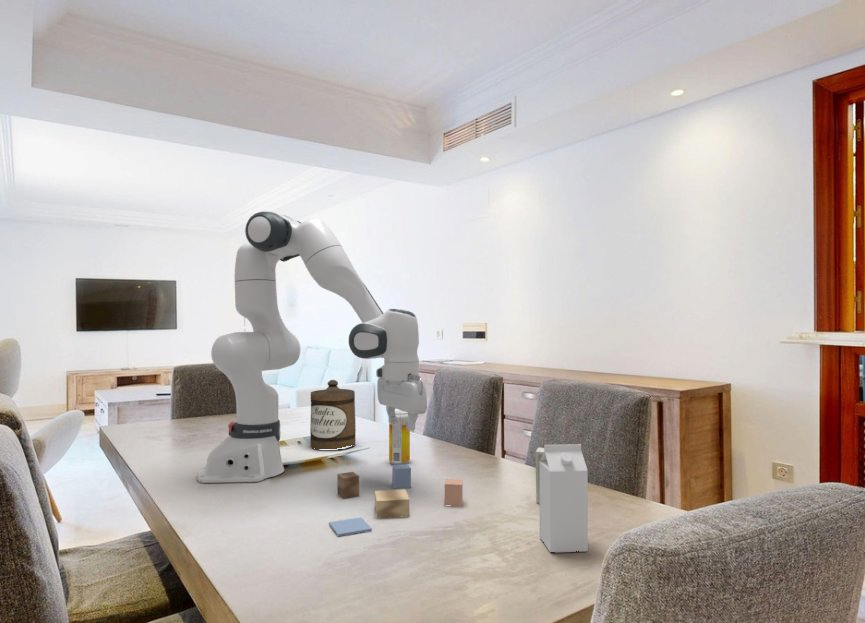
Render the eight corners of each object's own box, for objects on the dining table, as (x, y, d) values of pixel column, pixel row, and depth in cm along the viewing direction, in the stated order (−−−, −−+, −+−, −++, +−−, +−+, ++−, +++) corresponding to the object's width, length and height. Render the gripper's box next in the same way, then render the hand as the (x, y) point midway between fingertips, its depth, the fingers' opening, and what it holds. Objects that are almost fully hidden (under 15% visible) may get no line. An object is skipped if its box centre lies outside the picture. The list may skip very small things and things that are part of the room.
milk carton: (539, 538, 109) (539, 440, 109) (574, 537, 110) (574, 440, 110) (550, 553, 102) (550, 449, 102) (587, 552, 103) (587, 448, 103)
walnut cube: (343, 499, 133) (343, 478, 133) (337, 494, 136) (337, 474, 136) (359, 496, 135) (359, 475, 135) (352, 492, 138) (352, 471, 138)
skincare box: (564, 500, 132) (564, 448, 132) (562, 506, 128) (562, 453, 128) (537, 497, 134) (537, 446, 134) (535, 503, 130) (535, 450, 130)
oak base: (376, 519, 120) (376, 501, 120) (374, 508, 127) (374, 491, 127) (409, 517, 121) (409, 499, 121) (405, 506, 128) (405, 489, 128)
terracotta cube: (444, 506, 128) (444, 484, 128) (445, 500, 132) (445, 479, 132) (462, 506, 128) (462, 484, 128) (462, 500, 132) (462, 479, 132)
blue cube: (395, 489, 140) (395, 469, 140) (392, 484, 144) (392, 465, 144) (410, 487, 141) (410, 468, 142) (407, 483, 145) (407, 464, 145)
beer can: (411, 460, 168) (411, 410, 168) (408, 466, 162) (408, 414, 162) (391, 460, 168) (391, 410, 169) (387, 465, 162) (387, 413, 163)
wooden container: (301, 449, 182) (302, 381, 182) (323, 439, 196) (323, 377, 196) (343, 452, 178) (343, 383, 178) (362, 442, 192) (362, 378, 192)
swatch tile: (337, 536, 110) (337, 534, 110) (328, 524, 116) (328, 522, 116) (371, 531, 113) (371, 528, 113) (361, 519, 119) (361, 517, 119)
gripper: (433, 375, 136) (433, 432, 136) (394, 368, 153) (393, 419, 153) (410, 377, 133) (410, 435, 133) (373, 369, 150) (373, 421, 150)
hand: (401, 426), depth 143 cm, fingers open, 8 cm apart
